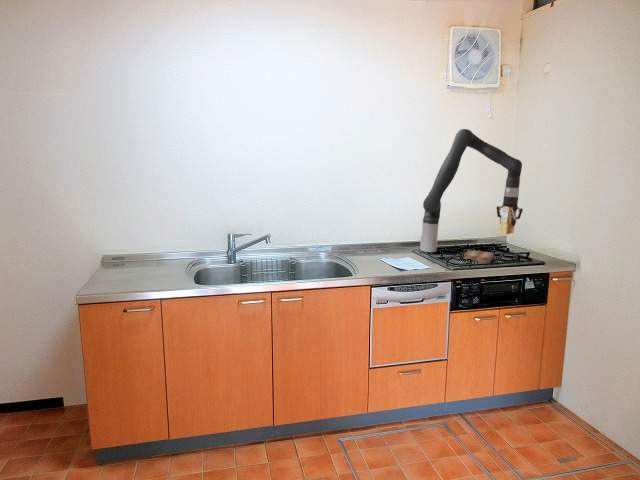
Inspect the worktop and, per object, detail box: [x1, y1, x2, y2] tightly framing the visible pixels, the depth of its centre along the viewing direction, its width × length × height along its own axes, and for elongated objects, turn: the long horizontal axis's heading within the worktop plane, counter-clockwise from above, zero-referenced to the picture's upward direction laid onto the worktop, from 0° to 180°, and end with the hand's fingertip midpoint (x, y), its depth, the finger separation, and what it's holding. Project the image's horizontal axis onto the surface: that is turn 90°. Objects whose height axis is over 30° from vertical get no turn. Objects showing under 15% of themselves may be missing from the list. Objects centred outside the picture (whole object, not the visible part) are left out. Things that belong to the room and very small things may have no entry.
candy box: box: [499, 207, 517, 235], centre depth 261 cm, size 9×4×15 cm, turn 130°
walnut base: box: [463, 249, 494, 264], centre depth 266 cm, size 14×14×3 cm
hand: (507, 225), depth 261 cm, fingers closed on candy box, 5 cm apart
